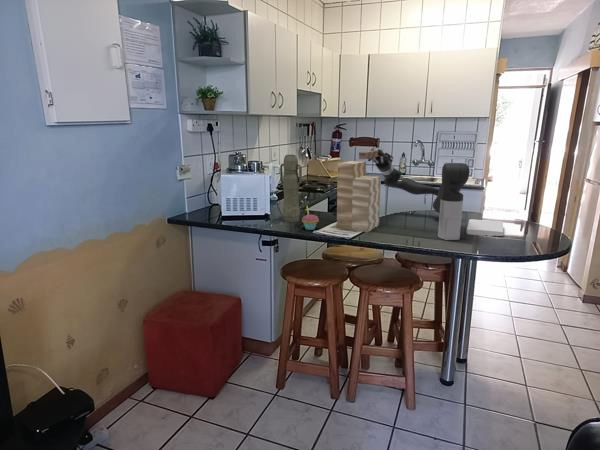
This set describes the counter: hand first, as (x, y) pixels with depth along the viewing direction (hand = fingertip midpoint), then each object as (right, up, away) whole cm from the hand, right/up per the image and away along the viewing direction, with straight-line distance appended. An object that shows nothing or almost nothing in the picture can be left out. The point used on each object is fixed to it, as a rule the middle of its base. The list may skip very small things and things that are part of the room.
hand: (375, 150), depth 199 cm
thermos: (-42, -34, +19) cm, 57 cm away
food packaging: (+51, -40, -7) cm, 65 cm away
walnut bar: (-3, -4, -3) cm, 6 cm away
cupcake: (-32, -39, 0) cm, 50 cm away
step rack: (-8, -38, +2) cm, 39 cm away
